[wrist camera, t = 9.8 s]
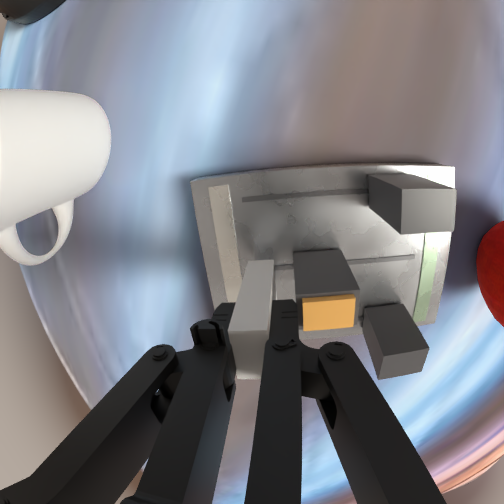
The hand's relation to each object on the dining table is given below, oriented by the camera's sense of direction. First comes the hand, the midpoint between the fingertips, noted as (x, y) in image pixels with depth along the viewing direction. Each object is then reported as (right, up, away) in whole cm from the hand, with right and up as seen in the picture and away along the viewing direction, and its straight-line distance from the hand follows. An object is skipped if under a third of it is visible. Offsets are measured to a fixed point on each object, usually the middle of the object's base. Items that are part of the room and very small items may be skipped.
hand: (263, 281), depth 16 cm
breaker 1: (+8, +5, -1) cm, 9 cm away
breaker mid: (+3, +1, +1) cm, 4 cm away
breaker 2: (+9, -3, +2) cm, 9 cm away
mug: (-15, +9, +2) cm, 17 cm away
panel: (+5, +2, +3) cm, 6 cm away
